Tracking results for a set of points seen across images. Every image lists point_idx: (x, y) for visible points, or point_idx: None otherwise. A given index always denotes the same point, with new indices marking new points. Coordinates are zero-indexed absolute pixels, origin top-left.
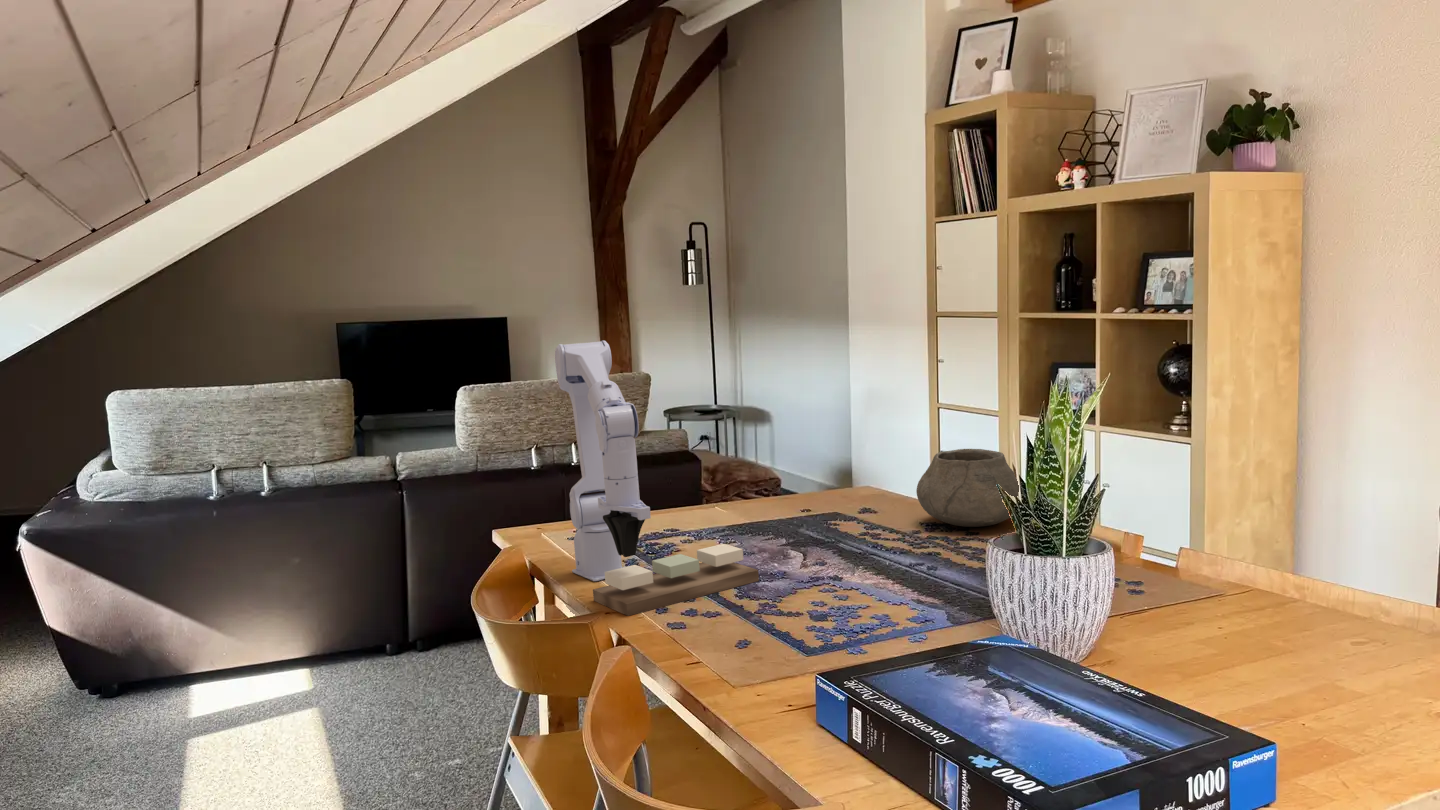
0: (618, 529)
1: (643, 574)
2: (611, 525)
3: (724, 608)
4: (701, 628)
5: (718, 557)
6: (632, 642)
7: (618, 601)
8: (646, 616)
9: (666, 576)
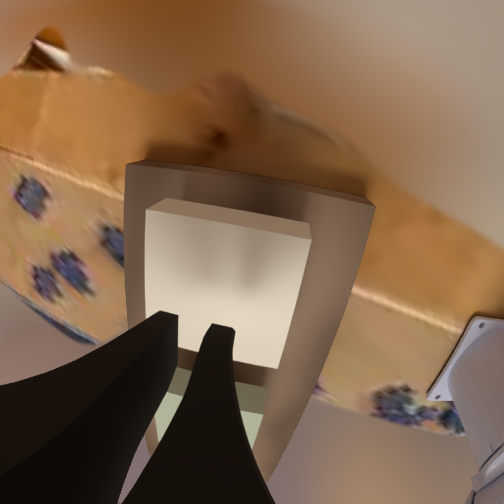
0: (36, 405)
1: (147, 303)
2: (144, 476)
3: (59, 319)
4: (3, 215)
5: None
6: (23, 75)
7: (181, 169)
8: (108, 191)
9: (186, 370)
